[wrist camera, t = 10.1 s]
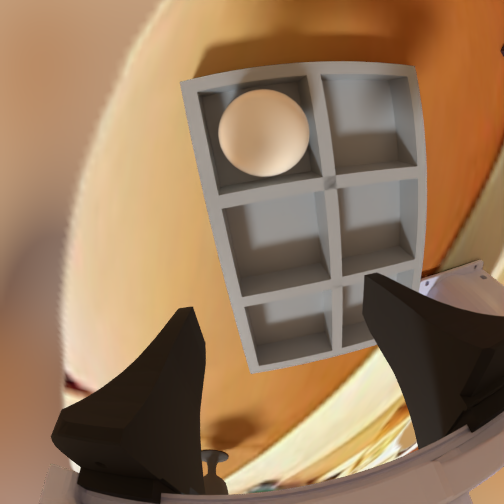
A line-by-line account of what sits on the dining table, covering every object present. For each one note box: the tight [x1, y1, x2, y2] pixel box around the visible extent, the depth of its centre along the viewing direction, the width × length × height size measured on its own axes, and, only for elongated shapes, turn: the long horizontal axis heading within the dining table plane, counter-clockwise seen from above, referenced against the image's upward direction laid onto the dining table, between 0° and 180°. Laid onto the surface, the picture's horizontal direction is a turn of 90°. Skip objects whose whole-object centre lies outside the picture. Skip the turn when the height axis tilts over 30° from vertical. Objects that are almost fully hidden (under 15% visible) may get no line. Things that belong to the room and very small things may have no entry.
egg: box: [218, 89, 310, 177], centre depth 14 cm, size 4×4×6 cm
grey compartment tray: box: [180, 61, 427, 374], centre depth 18 cm, size 14×21×3 cm
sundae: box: [201, 450, 228, 495], centre depth 27 cm, size 7×7×15 cm
